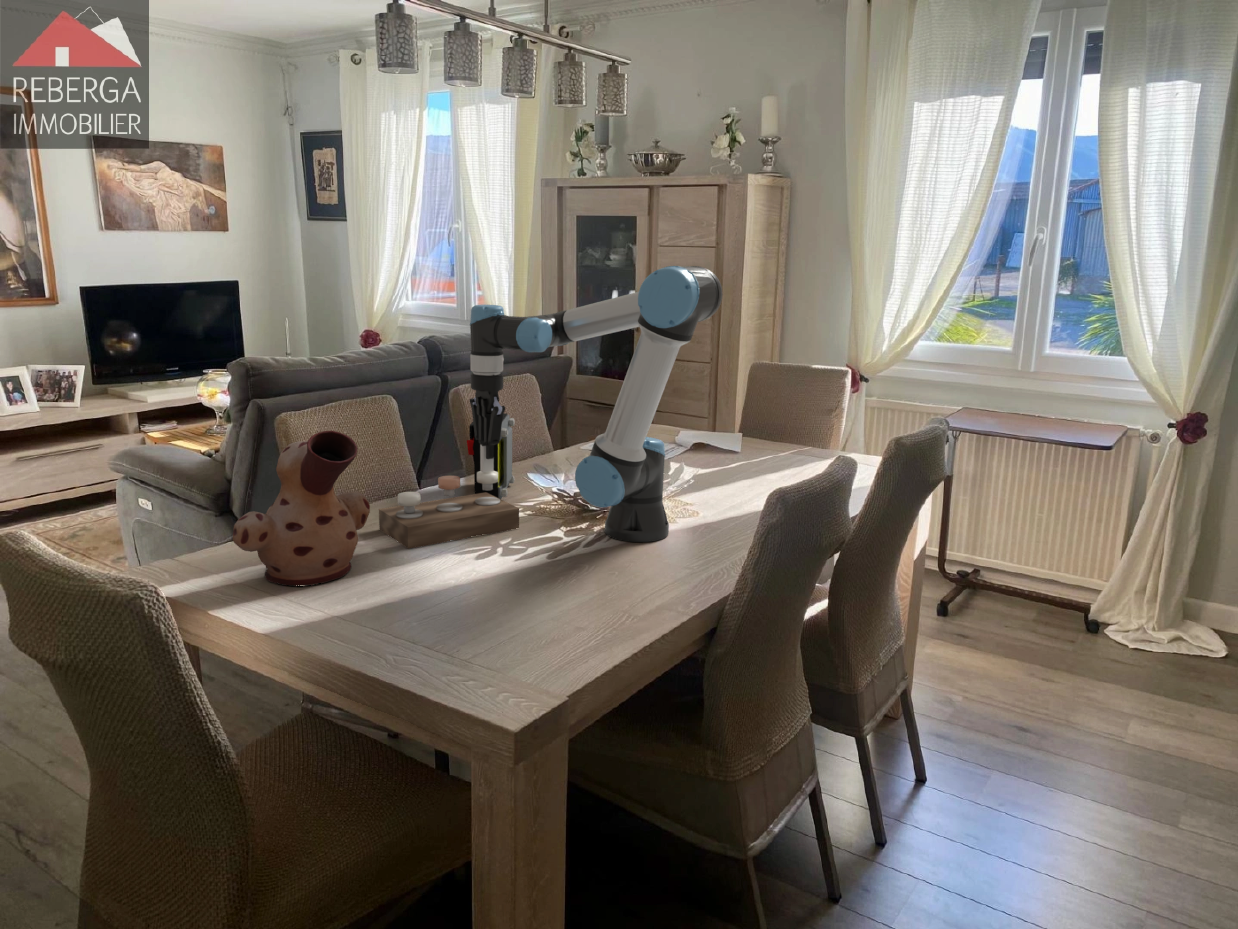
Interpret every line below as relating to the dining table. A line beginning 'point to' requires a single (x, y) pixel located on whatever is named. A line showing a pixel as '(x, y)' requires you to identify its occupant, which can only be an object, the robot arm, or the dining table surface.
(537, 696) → the dining table surface
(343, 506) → the vessel
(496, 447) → the electrical component
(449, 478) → the middle knob
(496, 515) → the knob bar
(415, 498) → the left knob
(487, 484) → the right knob
